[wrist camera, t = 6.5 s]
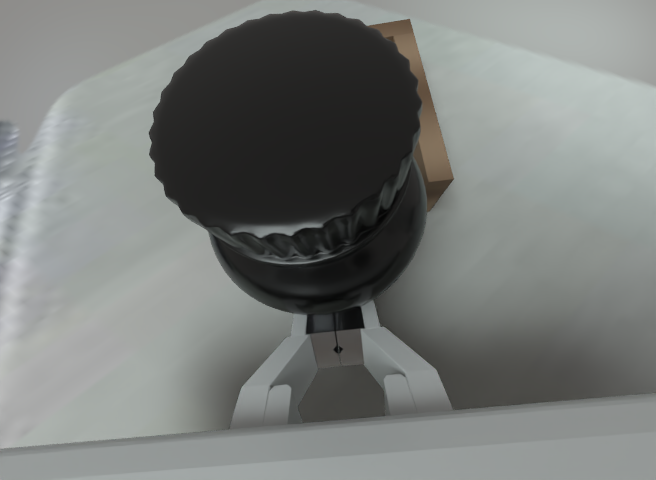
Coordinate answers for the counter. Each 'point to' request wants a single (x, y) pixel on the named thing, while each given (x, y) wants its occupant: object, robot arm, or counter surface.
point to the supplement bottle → (297, 158)
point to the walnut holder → (422, 115)
